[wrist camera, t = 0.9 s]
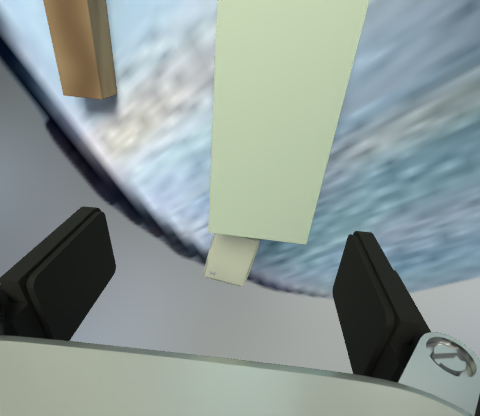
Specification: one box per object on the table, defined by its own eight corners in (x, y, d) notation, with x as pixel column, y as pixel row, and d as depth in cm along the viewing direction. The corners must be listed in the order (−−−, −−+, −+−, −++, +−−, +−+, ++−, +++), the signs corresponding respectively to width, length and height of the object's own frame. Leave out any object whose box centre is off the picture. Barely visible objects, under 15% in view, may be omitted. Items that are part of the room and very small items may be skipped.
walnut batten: (82, 90, 32) (62, 95, 29) (48, -96, 25) (17, -116, 22) (118, 93, 32) (101, 99, 29) (95, -92, 25) (70, -111, 21)
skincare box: (250, 223, 39) (242, 290, 29) (219, 215, 39) (200, 279, 28) (264, 182, 36) (262, 241, 25) (231, 173, 36) (214, 228, 25)
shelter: (250, -71, 24) (225, -220, 10) (333, -63, 24) (422, -205, 10) (233, 154, 34) (208, 232, 21) (291, 161, 34) (306, 244, 20)
